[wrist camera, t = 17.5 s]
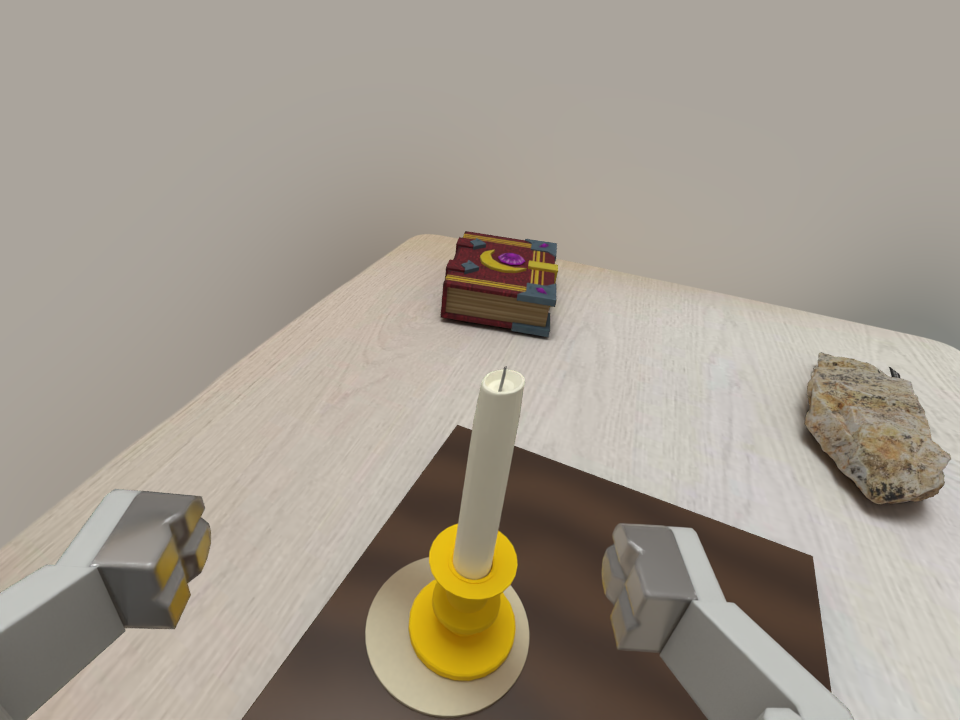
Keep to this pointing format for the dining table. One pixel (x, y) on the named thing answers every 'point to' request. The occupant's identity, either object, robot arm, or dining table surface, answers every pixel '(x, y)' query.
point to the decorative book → (501, 283)
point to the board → (528, 608)
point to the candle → (474, 551)
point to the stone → (874, 430)
